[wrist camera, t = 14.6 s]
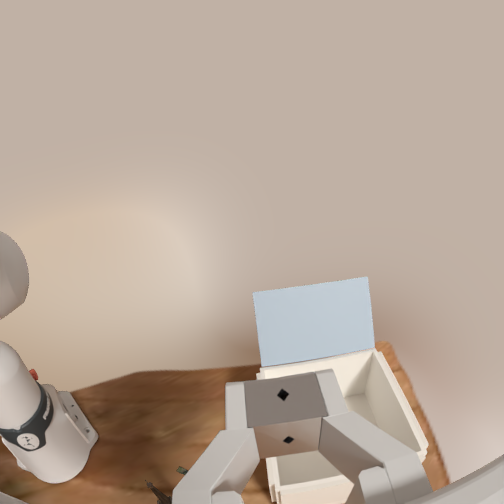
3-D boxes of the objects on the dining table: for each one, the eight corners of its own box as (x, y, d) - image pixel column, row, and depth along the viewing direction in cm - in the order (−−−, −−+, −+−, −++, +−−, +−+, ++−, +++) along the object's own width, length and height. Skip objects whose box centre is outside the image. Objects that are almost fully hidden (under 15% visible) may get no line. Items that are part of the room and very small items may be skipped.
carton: (407, 487, 31) (433, 454, 26) (274, 519, 30) (270, 496, 26) (369, 391, 49) (378, 347, 45) (261, 410, 49) (255, 368, 44)
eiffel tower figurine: (185, 567, 23) (147, 553, 18) (126, 532, 28) (79, 502, 22) (236, 492, 35) (219, 454, 30) (178, 466, 40) (150, 422, 34)
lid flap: (367, 276, 45) (366, 276, 46) (252, 292, 45) (252, 292, 46) (374, 347, 44) (373, 346, 45) (261, 366, 44) (261, 365, 44)
